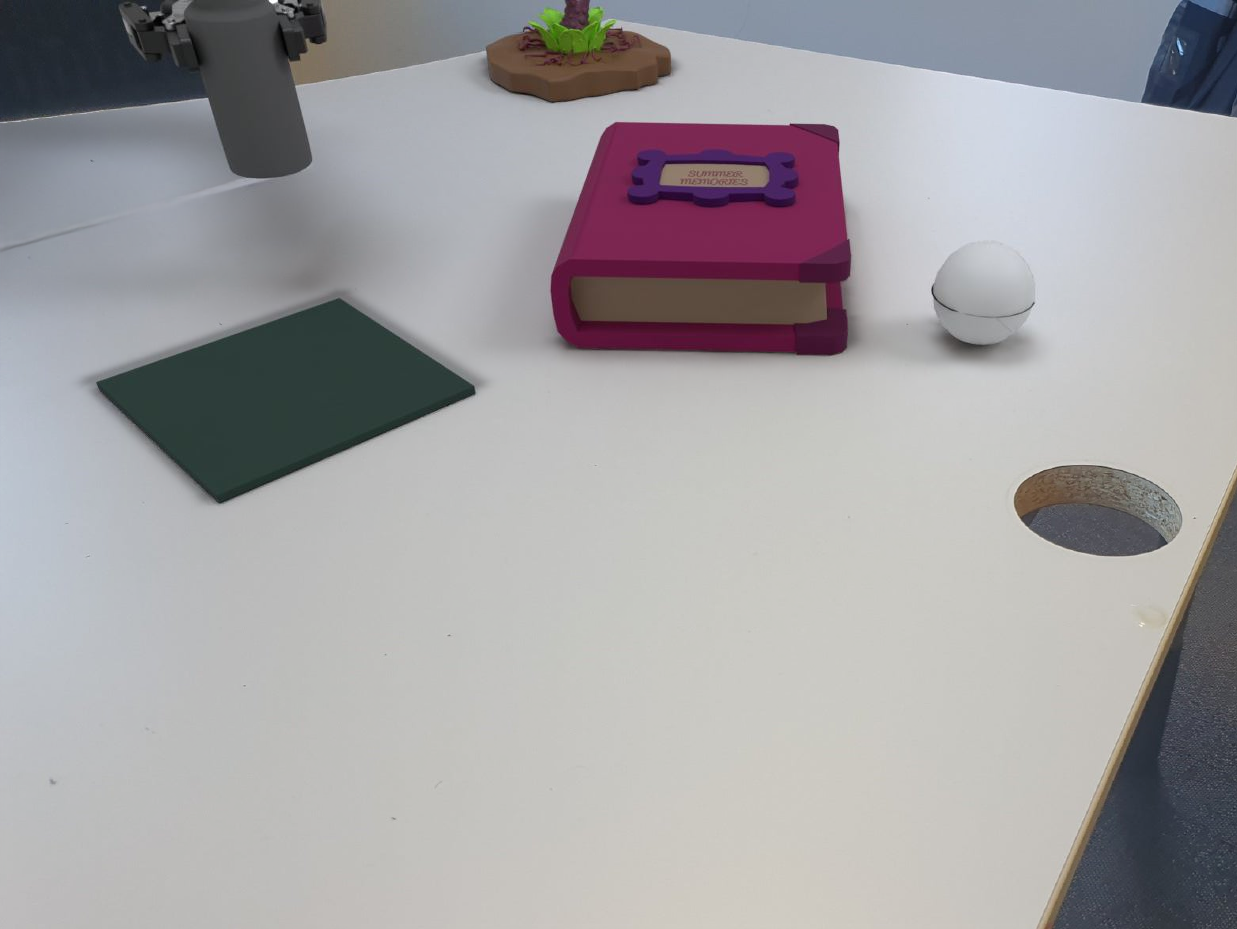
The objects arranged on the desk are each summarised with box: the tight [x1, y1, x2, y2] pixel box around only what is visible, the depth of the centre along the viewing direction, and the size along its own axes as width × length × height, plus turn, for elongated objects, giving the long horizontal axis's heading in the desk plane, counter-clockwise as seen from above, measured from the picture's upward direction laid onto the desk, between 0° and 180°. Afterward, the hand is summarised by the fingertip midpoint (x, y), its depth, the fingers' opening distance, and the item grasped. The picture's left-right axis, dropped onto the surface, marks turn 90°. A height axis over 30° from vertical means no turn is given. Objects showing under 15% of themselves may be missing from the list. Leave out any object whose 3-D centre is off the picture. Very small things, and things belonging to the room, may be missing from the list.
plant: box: [485, 0, 672, 103], centre depth 127 cm, size 20×20×11 cm
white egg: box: [930, 240, 1036, 346], centre depth 80 cm, size 10×7×7 cm
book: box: [549, 121, 852, 356], centre depth 89 cm, size 21×28×8 cm
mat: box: [95, 297, 477, 504], centre depth 76 cm, size 18×18×1 cm
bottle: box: [184, 0, 313, 180], centre depth 78 cm, size 6×6×15 cm
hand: (241, 51), depth 75 cm, fingers closed on bottle, 6 cm apart
